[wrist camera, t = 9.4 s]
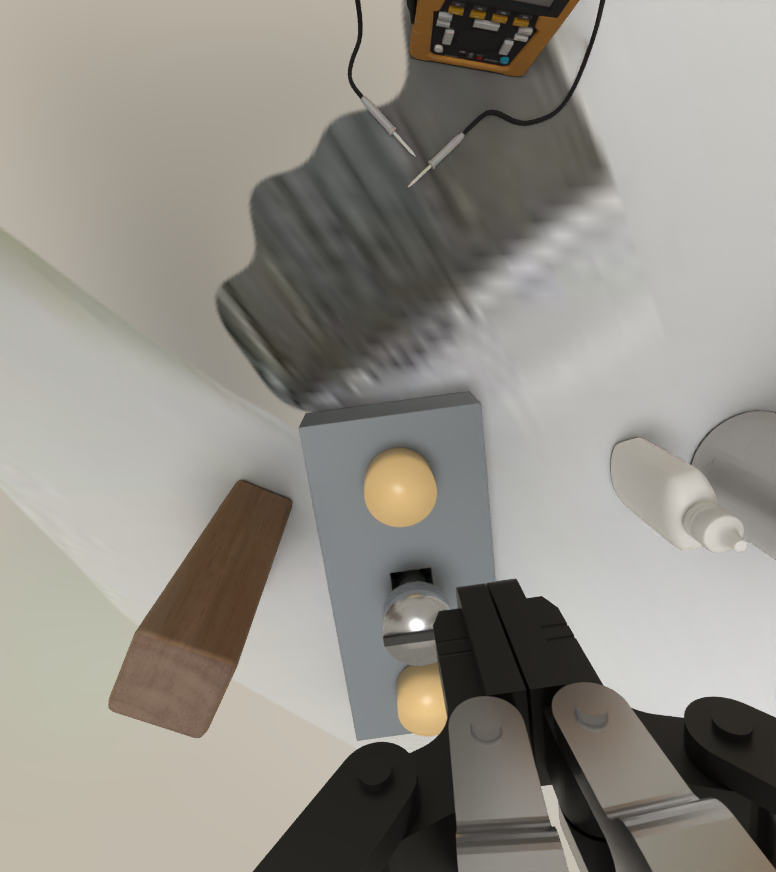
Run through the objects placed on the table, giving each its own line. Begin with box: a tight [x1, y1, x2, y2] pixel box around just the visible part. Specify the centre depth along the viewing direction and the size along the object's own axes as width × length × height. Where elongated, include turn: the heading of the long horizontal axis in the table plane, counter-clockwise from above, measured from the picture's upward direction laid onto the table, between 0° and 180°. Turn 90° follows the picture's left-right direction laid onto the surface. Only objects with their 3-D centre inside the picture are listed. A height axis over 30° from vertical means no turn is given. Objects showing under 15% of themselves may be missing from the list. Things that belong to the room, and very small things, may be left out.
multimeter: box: [348, 0, 605, 188], centre depth 23 cm, size 15×10×20 cm
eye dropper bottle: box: [611, 438, 747, 553], centre depth 34 cm, size 4×6×12 cm
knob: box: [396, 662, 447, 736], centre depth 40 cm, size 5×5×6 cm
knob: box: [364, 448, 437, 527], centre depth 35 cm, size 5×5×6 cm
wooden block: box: [109, 481, 292, 738], centre depth 31 cm, size 9×4×18 cm, turn 155°
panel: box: [299, 391, 495, 741], centre depth 39 cm, size 12×26×4 cm, turn 7°
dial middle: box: [382, 570, 451, 666], centre depth 35 cm, size 5×5×6 cm
